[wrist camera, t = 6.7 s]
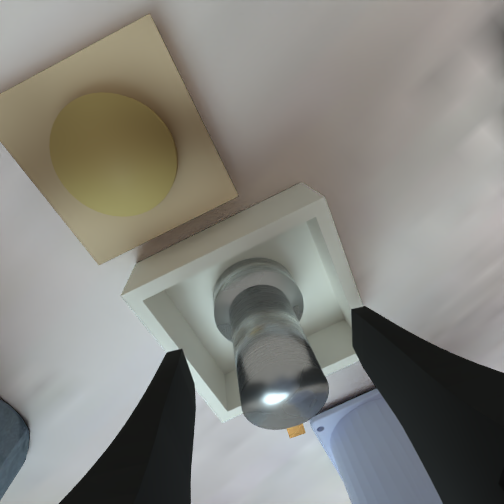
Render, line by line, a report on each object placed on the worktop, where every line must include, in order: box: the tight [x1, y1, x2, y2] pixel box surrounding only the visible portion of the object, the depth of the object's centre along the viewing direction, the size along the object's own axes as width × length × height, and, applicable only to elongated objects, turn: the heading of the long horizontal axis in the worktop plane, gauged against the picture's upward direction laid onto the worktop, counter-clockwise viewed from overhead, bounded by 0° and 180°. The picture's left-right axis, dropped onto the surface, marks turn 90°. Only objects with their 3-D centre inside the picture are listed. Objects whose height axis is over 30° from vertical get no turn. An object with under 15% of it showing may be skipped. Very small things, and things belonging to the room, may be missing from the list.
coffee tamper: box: [213, 258, 329, 438], centre depth 13 cm, size 4×4×6 cm
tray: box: [121, 182, 363, 423], centre depth 15 cm, size 9×9×3 cm
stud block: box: [0, 14, 238, 265], centre depth 12 cm, size 7×7×2 cm
